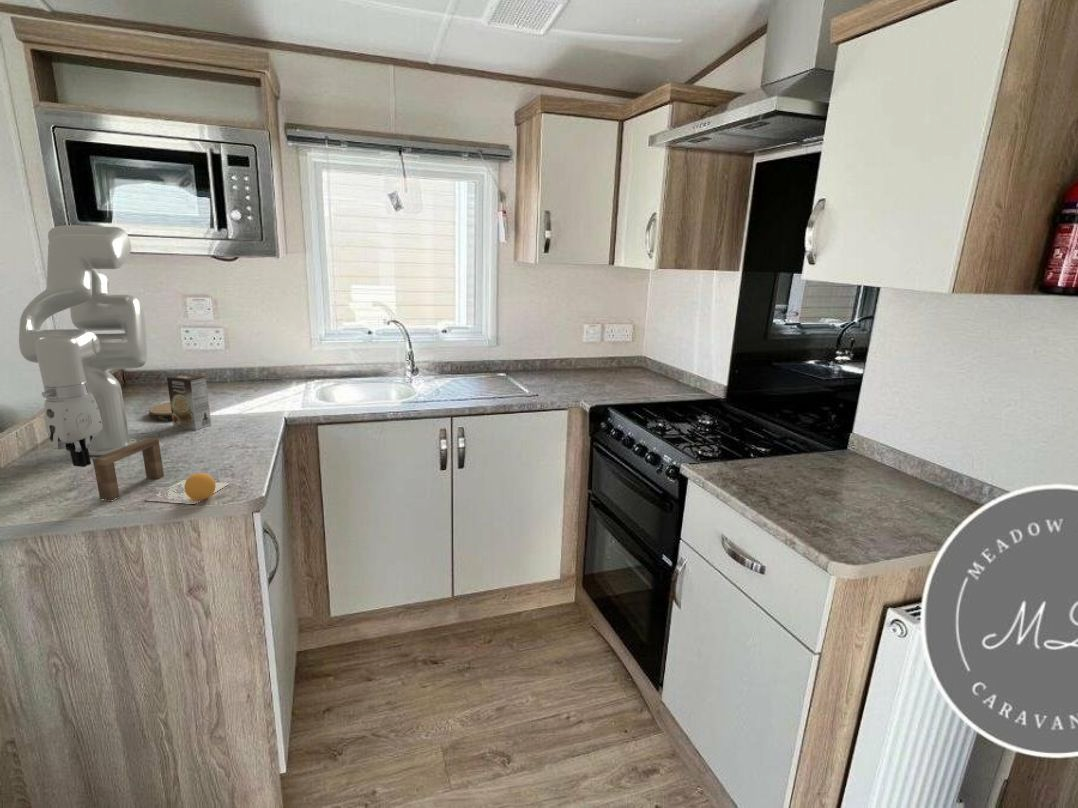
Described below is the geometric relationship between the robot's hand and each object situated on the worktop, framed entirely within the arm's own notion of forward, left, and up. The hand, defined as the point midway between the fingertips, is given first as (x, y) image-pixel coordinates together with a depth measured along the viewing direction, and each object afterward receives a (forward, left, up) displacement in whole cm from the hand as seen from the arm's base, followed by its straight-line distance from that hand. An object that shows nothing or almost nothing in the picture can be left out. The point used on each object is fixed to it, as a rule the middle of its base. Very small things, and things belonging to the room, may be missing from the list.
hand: (82, 464), depth 135 cm
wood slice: (-29, +51, -5) cm, 59 cm away
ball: (+33, +2, -1) cm, 33 cm away
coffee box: (-14, +43, -5) cm, 45 cm away
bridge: (+14, +1, -4) cm, 14 cm away
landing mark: (+27, +4, -4) cm, 28 cm away
